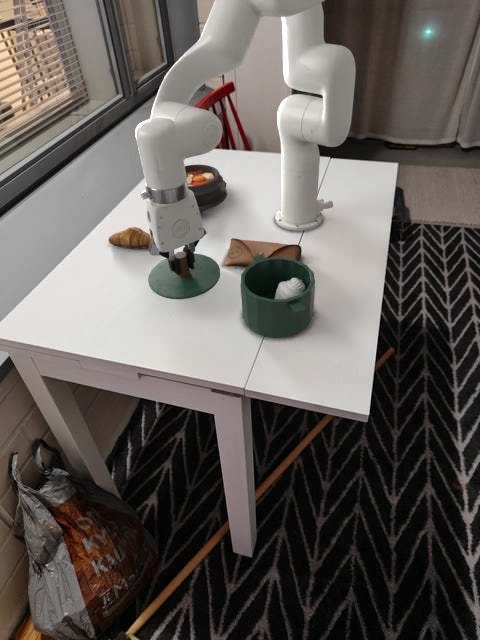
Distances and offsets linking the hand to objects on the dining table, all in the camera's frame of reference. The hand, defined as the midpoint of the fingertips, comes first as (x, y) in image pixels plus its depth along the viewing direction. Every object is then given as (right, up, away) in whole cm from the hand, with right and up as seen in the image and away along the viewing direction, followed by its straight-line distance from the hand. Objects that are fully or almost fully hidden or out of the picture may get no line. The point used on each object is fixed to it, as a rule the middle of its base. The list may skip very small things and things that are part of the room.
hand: (183, 268), depth 99 cm
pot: (+20, -10, -1) cm, 22 cm away
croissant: (-16, +9, +22) cm, 29 cm away
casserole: (-1, +24, +38) cm, 45 cm away
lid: (0, -2, +1) cm, 2 cm away
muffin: (+20, -8, -2) cm, 22 cm away
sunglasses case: (+18, +3, +14) cm, 23 cm away
